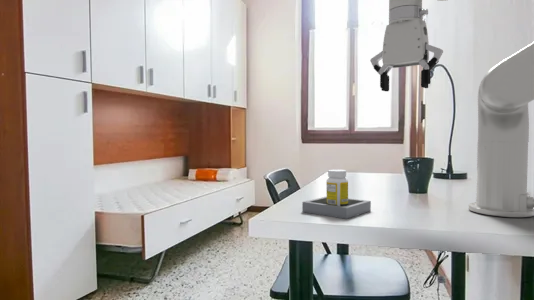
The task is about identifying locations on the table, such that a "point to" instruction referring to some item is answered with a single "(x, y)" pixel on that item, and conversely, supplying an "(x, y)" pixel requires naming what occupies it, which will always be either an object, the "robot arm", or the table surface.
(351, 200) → the tray
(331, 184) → the supplement bottle
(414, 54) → the robot arm
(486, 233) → the table surface
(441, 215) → the table surface
